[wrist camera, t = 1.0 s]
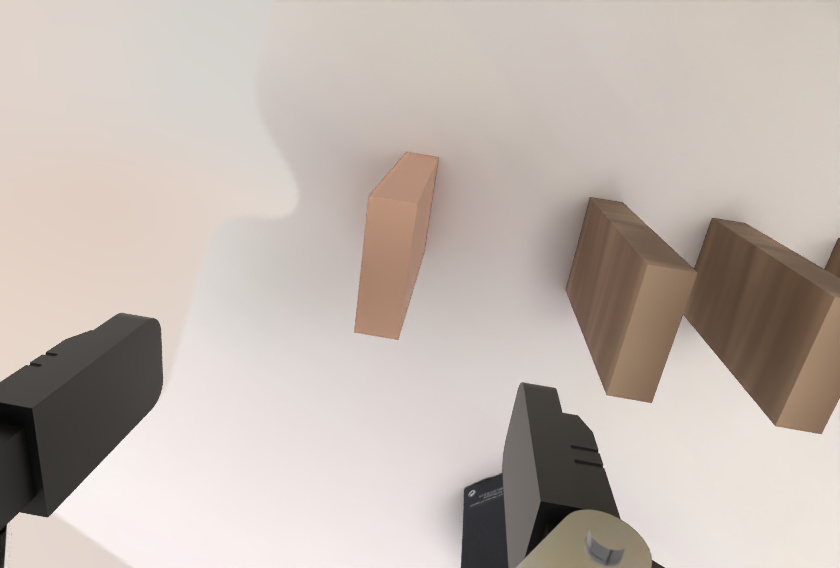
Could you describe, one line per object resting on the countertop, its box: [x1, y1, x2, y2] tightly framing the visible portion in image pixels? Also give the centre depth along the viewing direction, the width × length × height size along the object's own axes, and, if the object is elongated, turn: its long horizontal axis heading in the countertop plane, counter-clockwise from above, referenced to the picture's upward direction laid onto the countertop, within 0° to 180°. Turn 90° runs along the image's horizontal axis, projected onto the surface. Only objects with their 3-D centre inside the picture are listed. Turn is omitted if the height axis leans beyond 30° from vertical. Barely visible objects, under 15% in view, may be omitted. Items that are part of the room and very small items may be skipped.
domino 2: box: [566, 197, 698, 403], centre depth 23 cm, size 2×5×10 cm, turn 172°
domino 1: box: [354, 152, 439, 340], centre depth 23 cm, size 2×5×10 cm, turn 172°
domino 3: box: [683, 218, 840, 434], centre depth 23 cm, size 2×5×10 cm, turn 172°
